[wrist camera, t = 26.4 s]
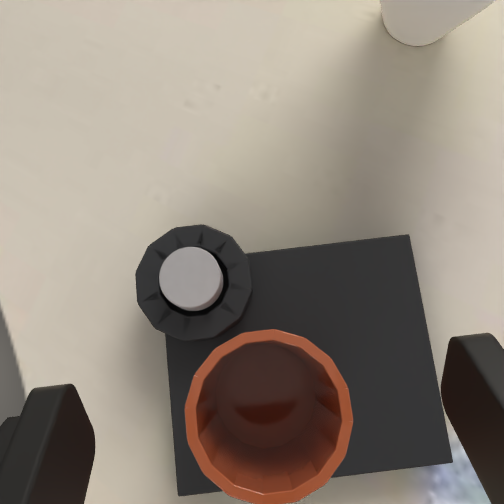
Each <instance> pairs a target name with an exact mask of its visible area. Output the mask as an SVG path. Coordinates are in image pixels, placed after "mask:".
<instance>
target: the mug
mask: <svg viewBox="0 0 504 504" xmlns="http://www.w3.org/2000/svg"><path fill="white" fill-rule="evenodd" d="M494 1H496V0H380V4H381V11H382V17H383V22H384V25H385V27H386V29H387V31H388V32H389V34H390V35H391V36H392V37H394V38H395V39H396V40H398V41H399V42H401V43H404V44H407V45H411V46H424V45H428V44H431V43H433V42H435V41H437V40H438V39H440V38H441V37H443V36H445V35H446V34H448V33H449V32H451V31H452V30H454V29H455V28H457V27H458V26H460V25H461V24H463V23H464V22H466V21H467V20H469V19H470V18H472V17H473V16H475V15H477V14H478V13H479V12H481V11H482V10H484V9H485V8H487V7H488V6H489V5H491V4H492V3H493V2H494Z"/></svg>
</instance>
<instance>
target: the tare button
mask: <svg viewBox="0 0 504 504" xmlns="http://www.w3.org/2000/svg"><path fill="white" fill-rule="evenodd" d="M159 283H160V287H161V290H162V292H163V294H164V296H165V297H166V298H167V299H168V300H169V301H170V302H172V303H173V304H175V305H176V306H178V307H180V308H182V309H184V310H188V311H199V310H203V309H205V308H207V307H209V306H211V305H212V304H213V303H214V302H215V301H216V300H217V299H218V297H219V296H220V294H221V291H222V288H223V275H222V272H221V269H220V267H219V265H218V263H217V261H216V260H215V258H214V257H213V256H212V255H211V254H210V253H208V252H207V251H205V250H203V249H201V248H197V247H185V248H181V249H178V250H176V251H175V252H173V253H172V254H170V255H169V256H168V257H167V258H166V260H165V261H164V263H163V264H162V267H161V269H160V274H159Z"/></svg>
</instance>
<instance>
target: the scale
mask: <svg viewBox="0 0 504 504" xmlns="http://www.w3.org/2000/svg"><path fill="white" fill-rule="evenodd" d="M185 247H197V248H201V249H203V250H205V251H207V252H208V253H210V254H211V255H212V256H213V257H214V258H215V260H216V261H217V263H218V265H219V267H220V269H221V272H222V275H223V288H222V291H221V294H220V296H219V297H218V299H217V300H216V301H215V302H214V303H213V304H212V305H211V306H209V307H207V308H205V309H203V310H199V311H188V310H184V309H182V308H180V307H178V306H176V305H175V304H173V303H172V302H170V301H169V300H168V299H167V298H166V297H165V296H164V294H163V292H162V290H161V287H160V283H159V274H160V269H161V267H162V264H163V263H164V261H165V260H166V258H167V257H168V256H169V255H170V254H172V253H173V252H175V251H176V250H178V249H181V248H185ZM135 275H136V290H137V302H138V305H139V306H140V308H141V309H142V311H143V312H144V314H145V315H146V316H147V318H148V319H149V321H150V322H151V324H152V325H153V327H154V328H155V329H157V330H159V331H161V332H164V333H165V336H166V349H167V362H168V375H169V387H170V400H171V413H172V425H173V438H174V451H175V464H176V476H177V489H178V496H187V495H195V494H203V493H212V492H220V491H223V490H221V489H220V488H219V487H218V486H217V485H216V484H215V483H213V482H212V481H211V480H210V479H209V478H208V477H206V476H205V475H204V473H203V472H202V471H201V469H200V467H199V465H198V463H197V461H196V459H195V457H194V455H193V453H192V451H191V449H190V447H189V445H188V441H187V433H186V422H185V410H184V409H185V403H186V400H187V397H188V393H189V390H190V386H191V383H192V380H193V376H194V375H195V373H196V371H197V370H198V369H199V368H200V366H201V365H202V364H203V363H204V361H205V360H206V359H207V358H208V356H209V355H210V354H211V352H212V351H213V350H214V349H215V348H216V347H218V346H220V345H222V344H224V343H225V342H227V341H229V340H231V339H232V338H234V337H236V336H238V335H239V334H241V333H244V332H252V331H260V330H269V329H277V330H280V331H284V332H287V333H291V334H294V335H298V336H301V337H304V338H306V339H308V340H309V341H310V342H312V343H313V344H314V345H315V346H317V347H318V348H319V349H320V350H322V351H323V352H324V353H326V354H327V355H328V356H329V357H330V358H331V359H332V360H333V362H334V364H335V365H336V367H337V369H338V370H339V372H340V374H341V376H342V377H343V379H344V381H345V382H346V384H347V386H348V387H347V388H348V389H349V395H350V401H351V408H352V414H353V426H352V431H351V435H350V440H349V444H348V449H347V453H346V455H345V458H344V459H343V461H342V462H341V463H340V465H339V466H338V468H337V469H336V470H335V472H334V473H333V475H332V476H331V478H333V477H341V476H349V475H357V474H365V473H373V472H381V471H389V470H397V469H406V468H414V467H422V466H430V465H438V464H446V463H452V462H453V459H452V454H451V449H450V444H449V438H448V433H447V428H446V423H445V418H444V412H443V407H442V402H441V397H440V392H439V387H438V381H437V376H436V371H435V366H434V361H433V355H432V350H431V345H430V340H429V335H428V330H427V324H426V319H425V314H424V309H423V304H422V298H421V293H420V288H419V283H418V278H417V273H416V267H415V262H414V257H413V252H412V247H411V241H410V236H409V235H408V234H407V235H399V236H390V237H382V238H374V239H365V240H357V241H348V242H340V243H331V244H323V245H314V246H306V247H297V248H289V249H281V250H272V251H264V252H255V253H247V254H245V253H244V252H243V251H242V249H241V248H240V247H239V246H238V244H237V243H236V242H235V240H234V239H233V238H232V237H230V235H228V234H225V233H223V232H221V231H218V230H216V229H213V228H211V227H209V226H206V225H193V226H185V227H176V228H174V229H171V230H170V231H169V232H167V233H166V234H164V235H163V236H162V237H160V238H159V239H157V240H156V241H155V242H153V243H152V244H150V246H148V248H147V250H146V252H145V254H144V256H143V258H142V260H141V262H140V264H139V266H138V268H137V270H136V274H135Z"/></svg>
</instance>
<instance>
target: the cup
mask: <svg viewBox="0 0 504 504" xmlns="http://www.w3.org/2000/svg"><path fill="white" fill-rule="evenodd" d="M347 387H348V386H347V384H346V382H345V381H344V379H343V377H342V376H341V374H340V372H339V370H338V369H337V367H336V365H335V364H334V362H333V360H332V359H331V358H330V357H329V356H328V355H327V354H326V353H324V352H323V351H322V350H320V349H319V348H318V347H317V346H315V345H314V344H313V343H312V342H310V341H309V340H308V339H306V338H304V337H301V336H298V335H294V334H291V333H287V332H284V331H280V330H277V329H269V330H260V331H252V332H244V333H241V334H239V335H238V336H236V337H234V338H232V339H231V340H229V341H227V342H225V343H224V344H222V345H220V346H218V347H216V348H215V349H214V350H213V351H212V352H211V354H210V355H209V356H208V358H207V359H206V360H205V361H204V363H203V364H202V365H201V366H200V368H199V369H198V370H197V371H196V373H195V375H194V376H193V380H192V383H191V386H190V390H189V393H188V397H187V400H186V403H185V409H184V410H185V422H186V433H187V441H188V445H189V447H190V449H191V451H192V453H193V455H194V457H195V459H196V461H197V463H198V465H199V467H200V469H201V471H202V472H203V473H204V475H205V476H206V477H208V478H209V479H210V480H211V481H212V482H213V483H215V484H216V485H217V486H218V487H219V488H220V489H221V490H223V491H224V492H225V493H226V494H227V495H230V497H233V498H237V499H240V500H243V501H246V502H249V503H253V504H286V503H294V502H297V501H299V500H301V499H302V498H304V497H306V496H307V495H309V494H311V493H312V492H314V491H316V490H317V489H319V488H320V487H322V486H324V485H325V483H327V482H328V480H329V479H330V478H331V476H332V475H333V473H334V472H335V470H336V469H337V468H338V466H339V465H340V463H341V462H342V461H343V459H344V458H345V455H346V453H347V449H348V444H349V440H350V435H351V431H352V426H353V414H352V408H351V401H350V395H349V389H348V388H347Z"/></svg>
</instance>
